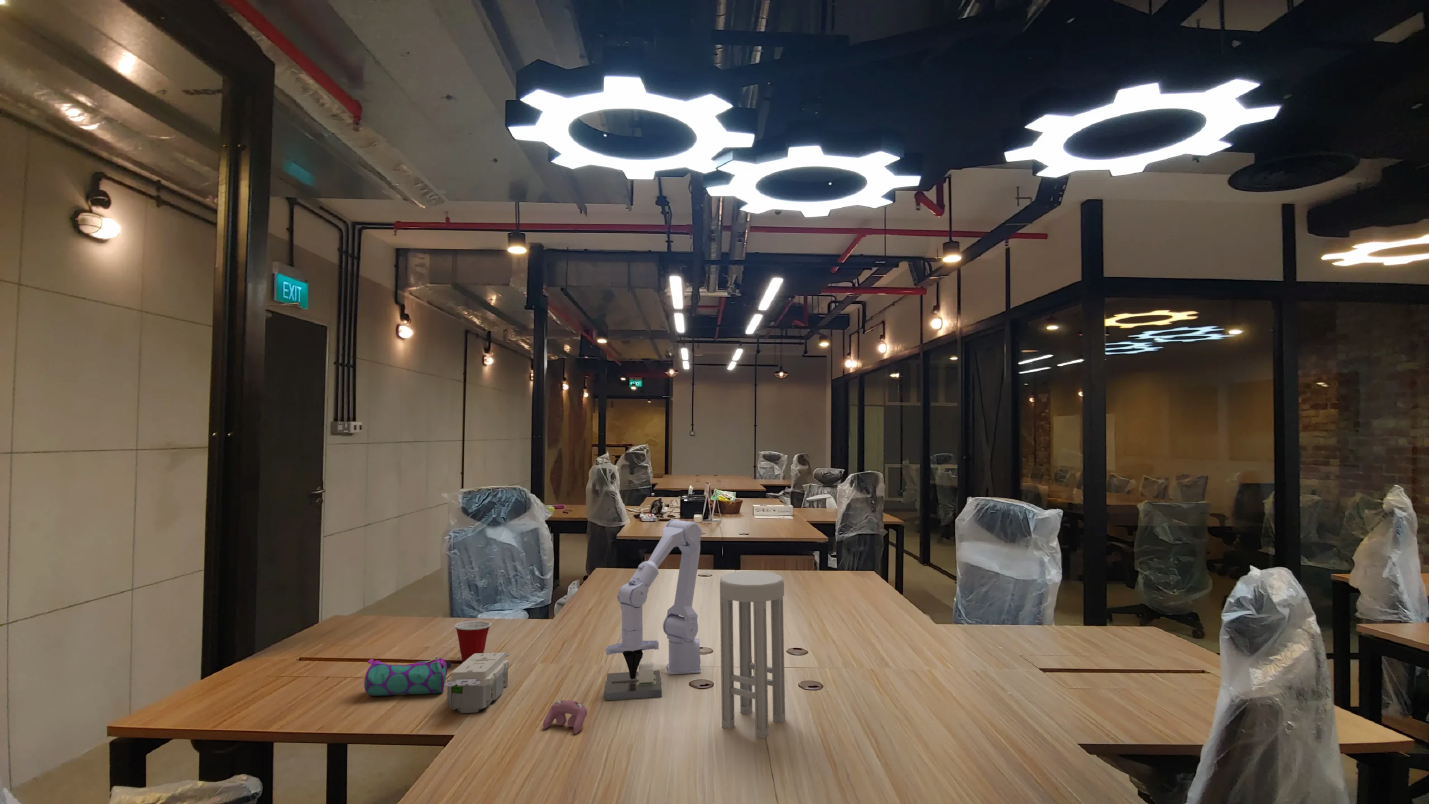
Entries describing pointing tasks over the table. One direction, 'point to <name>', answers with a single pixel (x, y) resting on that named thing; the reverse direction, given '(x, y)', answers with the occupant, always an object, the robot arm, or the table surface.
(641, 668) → the lever
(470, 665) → the electrical outlet
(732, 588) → the stool
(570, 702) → the video game controller
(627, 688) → the breaker panel
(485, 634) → the plastic cup
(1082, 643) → the table surface
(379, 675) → the pencil case
